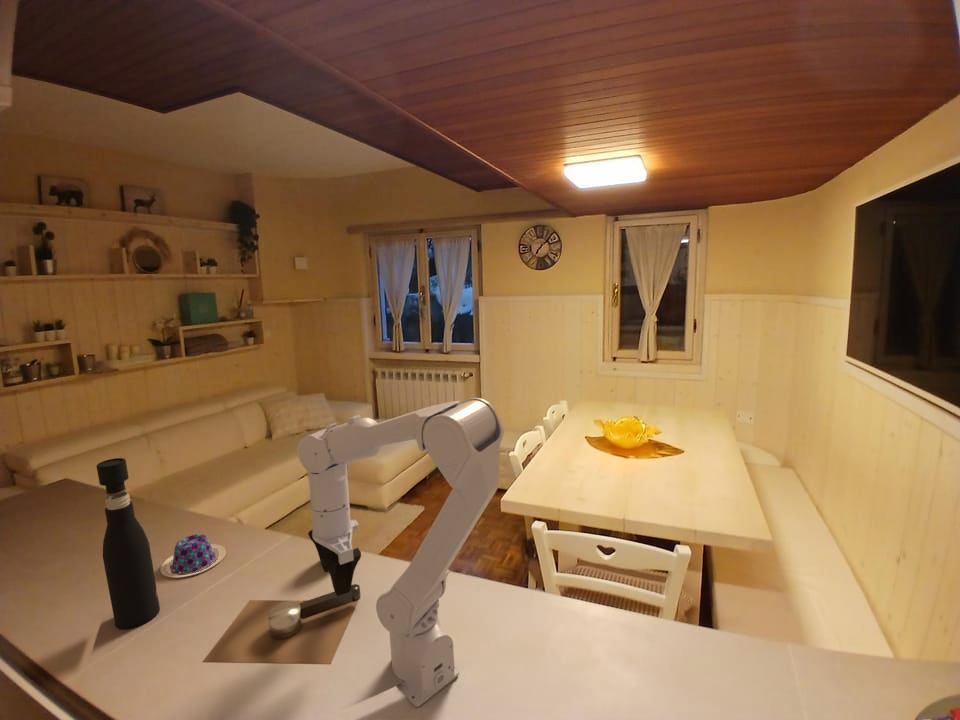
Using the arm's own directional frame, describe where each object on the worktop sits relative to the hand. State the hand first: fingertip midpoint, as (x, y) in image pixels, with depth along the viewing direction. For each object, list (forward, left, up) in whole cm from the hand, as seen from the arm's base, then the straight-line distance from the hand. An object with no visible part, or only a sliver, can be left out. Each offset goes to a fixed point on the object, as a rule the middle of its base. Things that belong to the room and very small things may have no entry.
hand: (336, 580), depth 78 cm
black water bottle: (+29, +23, -11) cm, 38 cm away
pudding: (+43, +11, -11) cm, 45 cm away
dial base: (+7, +6, -10) cm, 14 cm away
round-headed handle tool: (+5, +1, -9) cm, 10 cm away
